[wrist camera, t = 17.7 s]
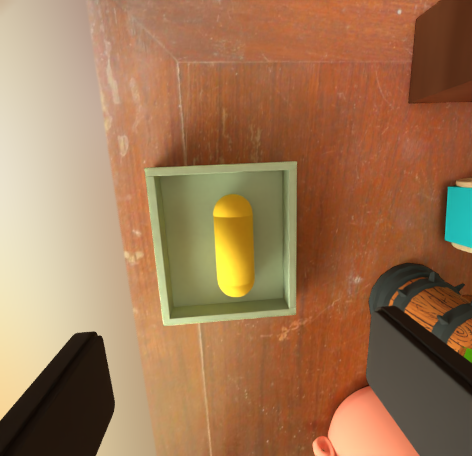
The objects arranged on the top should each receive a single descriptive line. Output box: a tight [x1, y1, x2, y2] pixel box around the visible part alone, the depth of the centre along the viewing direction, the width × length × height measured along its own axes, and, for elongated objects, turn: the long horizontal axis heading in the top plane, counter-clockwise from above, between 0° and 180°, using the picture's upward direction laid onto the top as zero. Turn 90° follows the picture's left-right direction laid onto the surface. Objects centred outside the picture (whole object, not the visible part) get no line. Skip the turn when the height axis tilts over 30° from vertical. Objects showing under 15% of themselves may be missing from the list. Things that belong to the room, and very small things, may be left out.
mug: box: [369, 263, 472, 363], centre depth 27 cm, size 13×10×12 cm
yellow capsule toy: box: [213, 194, 255, 297], centre depth 26 cm, size 11×4×4 cm, turn 3°
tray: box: [145, 161, 297, 326], centre depth 27 cm, size 17×15×3 cm
